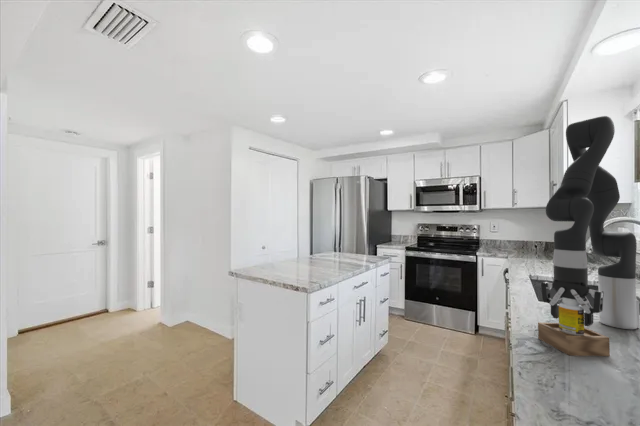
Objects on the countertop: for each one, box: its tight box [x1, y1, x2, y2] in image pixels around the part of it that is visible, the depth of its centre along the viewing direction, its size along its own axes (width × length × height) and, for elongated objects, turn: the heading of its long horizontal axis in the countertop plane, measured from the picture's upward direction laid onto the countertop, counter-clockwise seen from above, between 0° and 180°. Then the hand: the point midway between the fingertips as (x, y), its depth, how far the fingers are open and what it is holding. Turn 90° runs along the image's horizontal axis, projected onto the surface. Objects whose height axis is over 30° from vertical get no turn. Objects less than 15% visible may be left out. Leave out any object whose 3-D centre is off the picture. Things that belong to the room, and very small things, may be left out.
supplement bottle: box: [558, 297, 585, 336], centre depth 82 cm, size 6×6×10 cm
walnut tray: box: [537, 321, 611, 357], centre depth 82 cm, size 11×11×5 cm
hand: (571, 321), depth 82 cm, fingers open, 6 cm apart
